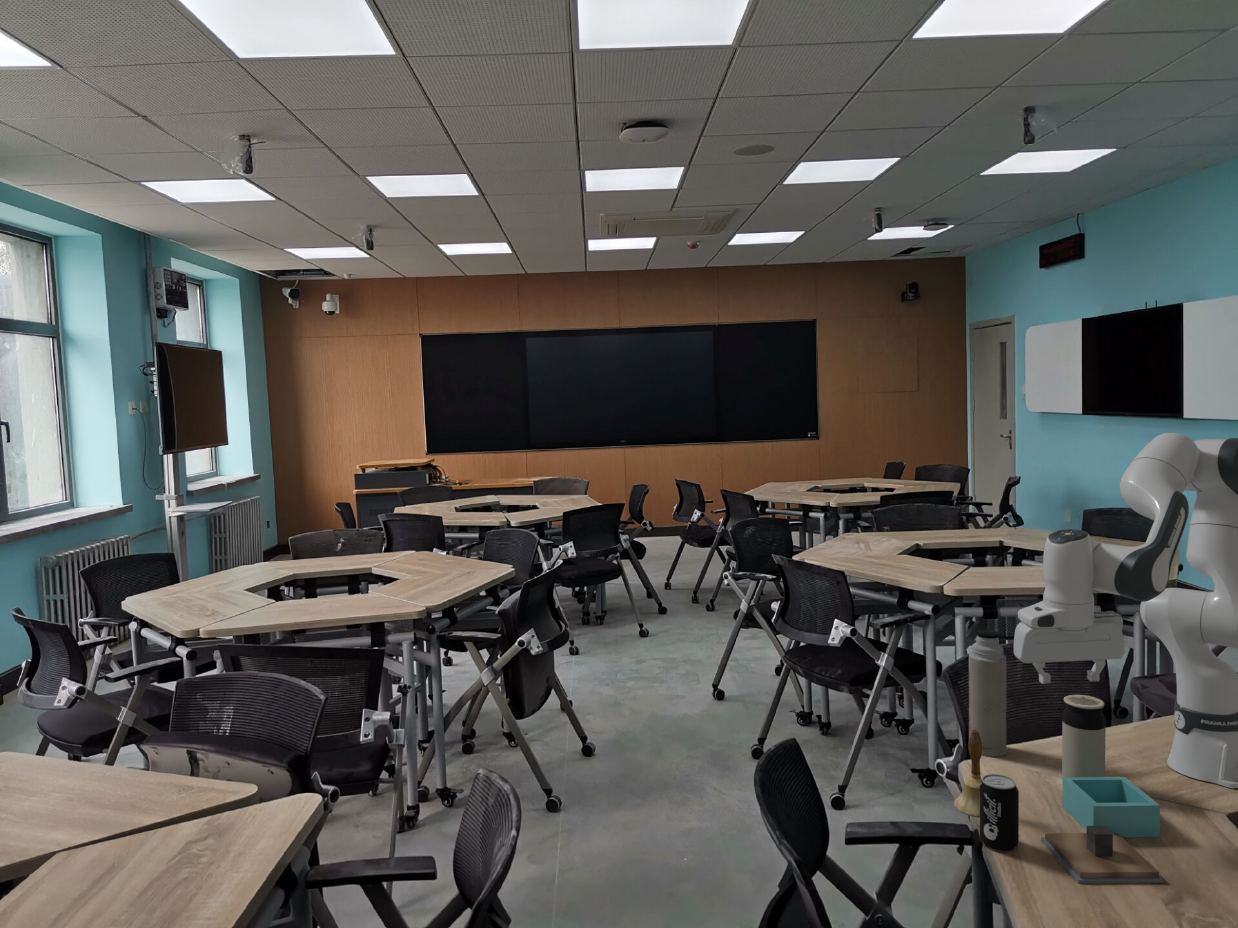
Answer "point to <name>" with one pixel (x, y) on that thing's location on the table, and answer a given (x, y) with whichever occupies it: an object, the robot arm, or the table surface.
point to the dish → (1111, 805)
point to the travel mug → (1083, 737)
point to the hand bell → (972, 780)
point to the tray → (1097, 880)
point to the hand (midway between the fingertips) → (1069, 681)
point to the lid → (1100, 854)
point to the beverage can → (999, 812)
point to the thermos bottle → (988, 692)
